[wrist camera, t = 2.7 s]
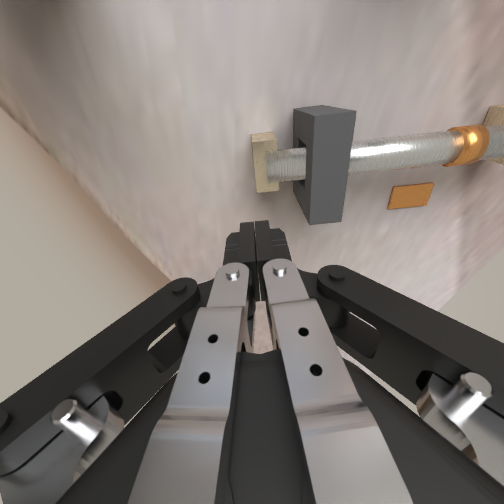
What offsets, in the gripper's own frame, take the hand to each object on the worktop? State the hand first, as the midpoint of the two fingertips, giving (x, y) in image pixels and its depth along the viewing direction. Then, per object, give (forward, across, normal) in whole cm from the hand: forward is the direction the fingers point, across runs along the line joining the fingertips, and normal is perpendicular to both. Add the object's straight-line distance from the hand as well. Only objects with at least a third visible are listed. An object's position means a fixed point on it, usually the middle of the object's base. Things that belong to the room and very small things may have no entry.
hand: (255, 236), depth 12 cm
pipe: (+18, -15, +3) cm, 23 cm away
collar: (+18, -6, 0) cm, 19 cm away
